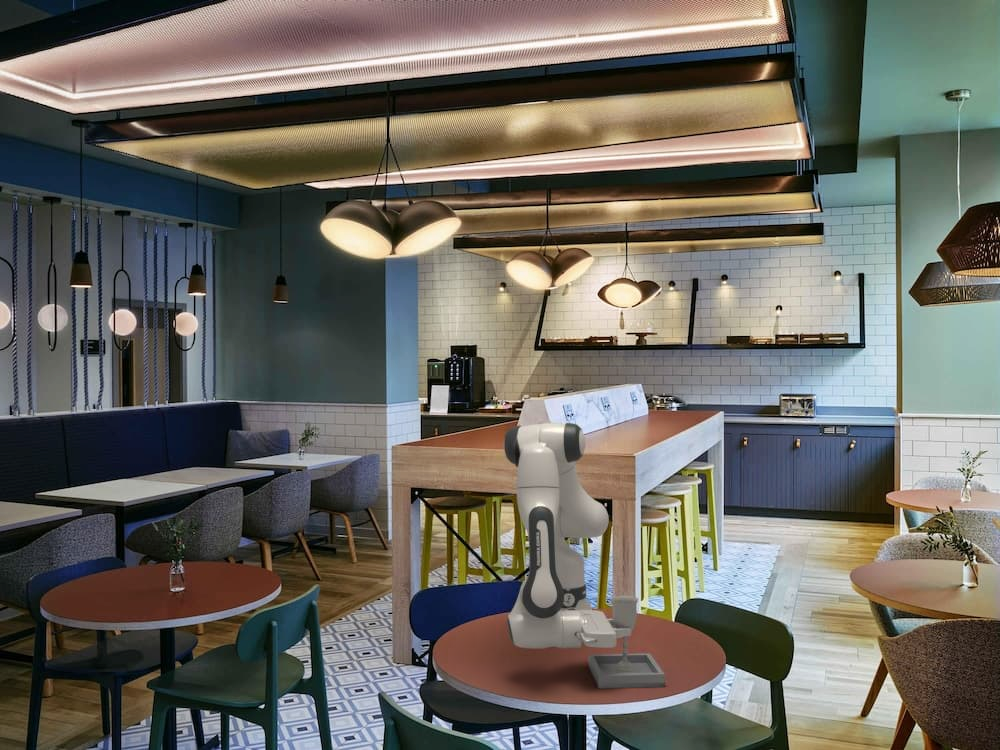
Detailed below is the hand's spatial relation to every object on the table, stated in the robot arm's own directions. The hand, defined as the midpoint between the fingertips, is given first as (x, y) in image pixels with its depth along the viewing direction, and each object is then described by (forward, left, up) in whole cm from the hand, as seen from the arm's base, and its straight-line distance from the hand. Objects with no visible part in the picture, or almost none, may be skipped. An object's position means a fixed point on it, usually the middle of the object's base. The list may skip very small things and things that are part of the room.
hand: (628, 628), depth 209 cm
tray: (0, -1, -12) cm, 12 cm away
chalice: (0, -1, -11) cm, 11 cm away
